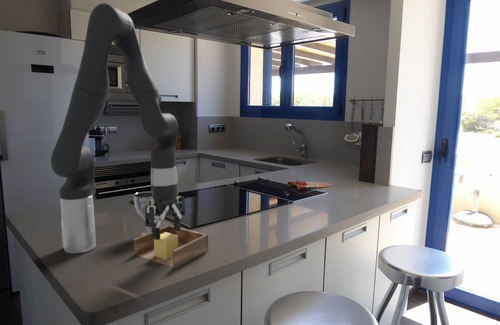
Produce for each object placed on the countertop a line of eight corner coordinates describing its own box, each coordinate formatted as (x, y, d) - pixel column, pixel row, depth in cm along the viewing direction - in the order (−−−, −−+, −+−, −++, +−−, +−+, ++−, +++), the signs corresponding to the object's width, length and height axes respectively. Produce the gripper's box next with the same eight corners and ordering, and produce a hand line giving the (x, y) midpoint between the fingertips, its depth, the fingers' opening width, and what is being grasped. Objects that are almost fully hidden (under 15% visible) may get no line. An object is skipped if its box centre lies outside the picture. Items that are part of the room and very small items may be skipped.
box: (134, 256, 107) (133, 239, 106) (169, 240, 119) (169, 224, 118) (175, 270, 98) (174, 251, 97) (208, 251, 111) (208, 234, 110)
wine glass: (161, 231, 128) (160, 191, 125) (156, 240, 120) (154, 197, 117) (139, 231, 127) (137, 191, 125) (133, 240, 120) (130, 197, 117)
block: (154, 256, 106) (153, 237, 105) (166, 250, 110) (165, 232, 109) (166, 259, 103) (165, 240, 102) (178, 253, 108) (177, 235, 107)
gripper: (172, 176, 111) (174, 225, 114) (136, 185, 99) (140, 240, 102) (190, 178, 107) (192, 229, 110) (155, 188, 95) (158, 245, 98)
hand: (167, 234), depth 106 cm, fingers open, 8 cm apart
